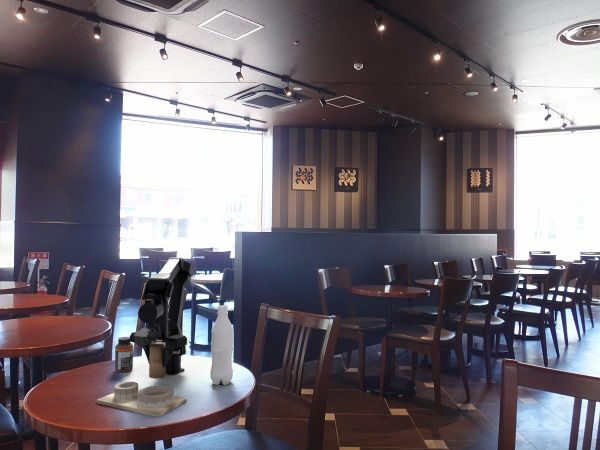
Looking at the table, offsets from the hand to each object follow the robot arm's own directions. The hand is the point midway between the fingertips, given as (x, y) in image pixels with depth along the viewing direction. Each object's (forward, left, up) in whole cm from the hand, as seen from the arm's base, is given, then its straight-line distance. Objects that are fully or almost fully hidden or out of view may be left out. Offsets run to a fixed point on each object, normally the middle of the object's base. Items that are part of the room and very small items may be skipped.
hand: (157, 366), depth 142 cm
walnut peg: (0, 0, -3) cm, 3 cm away
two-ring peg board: (+12, +5, -6) cm, 14 cm away
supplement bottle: (-8, -22, -7) cm, 24 cm away
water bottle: (-12, +16, -7) cm, 21 cm away
